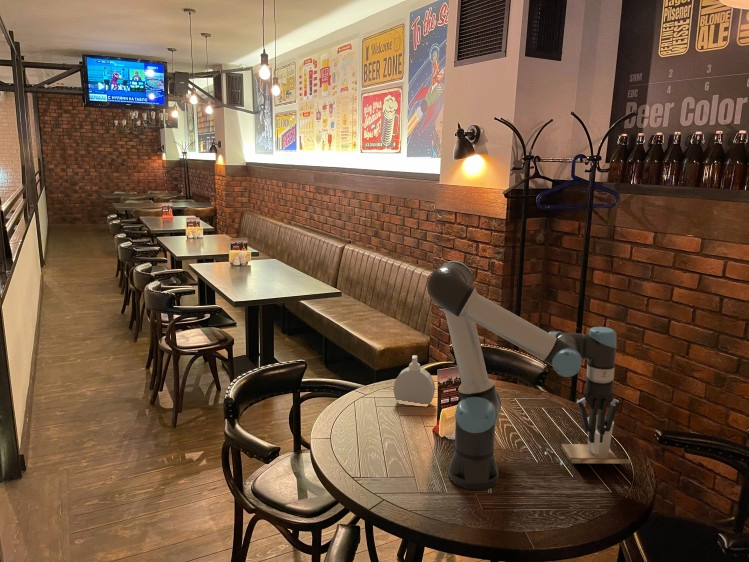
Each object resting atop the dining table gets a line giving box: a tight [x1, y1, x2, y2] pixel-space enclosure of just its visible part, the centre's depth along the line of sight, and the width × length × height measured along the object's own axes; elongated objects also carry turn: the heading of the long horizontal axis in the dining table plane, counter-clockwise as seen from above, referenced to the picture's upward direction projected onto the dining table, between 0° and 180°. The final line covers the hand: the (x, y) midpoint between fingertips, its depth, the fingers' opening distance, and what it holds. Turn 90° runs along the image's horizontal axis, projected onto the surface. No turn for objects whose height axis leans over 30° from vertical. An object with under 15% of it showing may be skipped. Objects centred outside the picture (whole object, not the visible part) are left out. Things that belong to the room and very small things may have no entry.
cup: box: [587, 414, 615, 457], centre depth 182 cm, size 8×8×12 cm
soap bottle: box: [392, 354, 436, 406], centre depth 220 cm, size 16×5×20 cm, turn 75°
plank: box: [570, 458, 631, 465], centre depth 174 cm, size 15×9×1 cm, turn 89°
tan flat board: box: [561, 443, 618, 463], centre depth 183 cm, size 15×9×1 cm, turn 89°
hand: (594, 451), depth 171 cm, fingers closed
